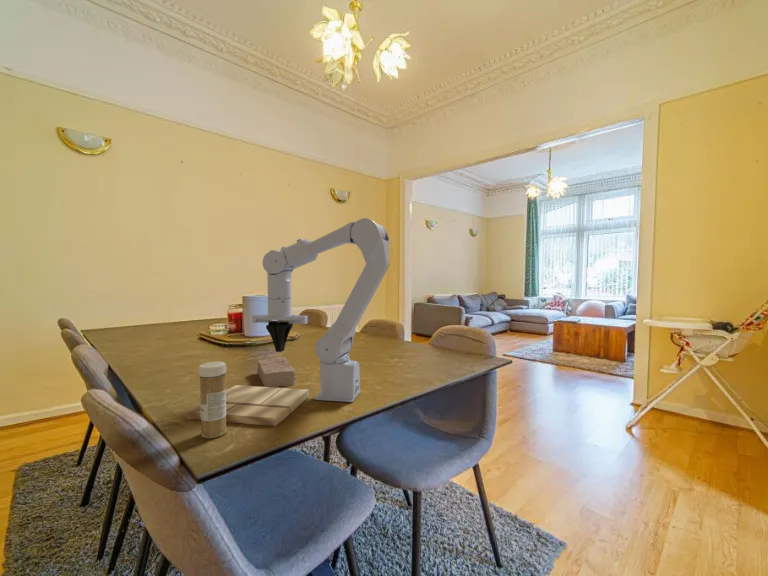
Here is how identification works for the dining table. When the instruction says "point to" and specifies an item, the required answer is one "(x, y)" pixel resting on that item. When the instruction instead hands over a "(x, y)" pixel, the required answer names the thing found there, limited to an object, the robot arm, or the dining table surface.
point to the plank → (267, 396)
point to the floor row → (249, 413)
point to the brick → (276, 372)
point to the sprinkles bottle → (213, 399)
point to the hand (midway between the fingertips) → (280, 351)
